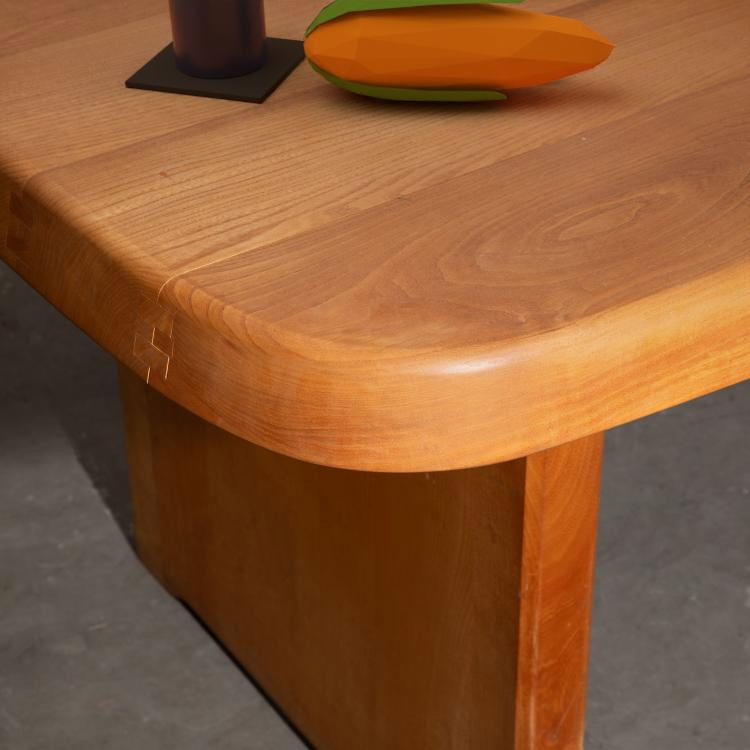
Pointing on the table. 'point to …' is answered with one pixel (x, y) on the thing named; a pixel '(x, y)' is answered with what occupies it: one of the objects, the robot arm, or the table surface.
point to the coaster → (242, 88)
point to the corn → (446, 48)
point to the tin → (218, 37)
